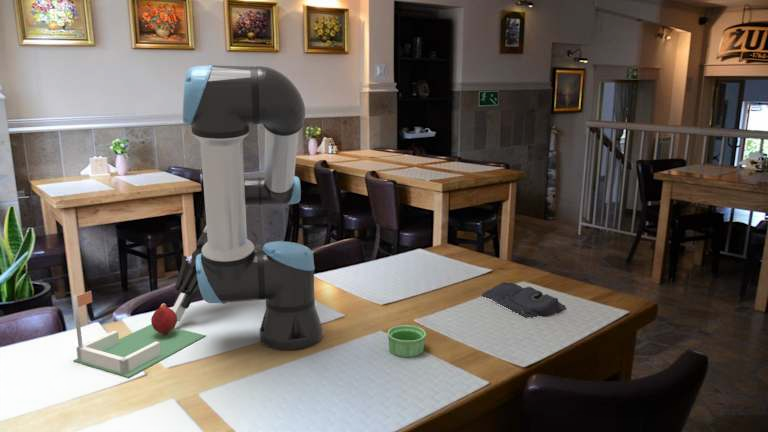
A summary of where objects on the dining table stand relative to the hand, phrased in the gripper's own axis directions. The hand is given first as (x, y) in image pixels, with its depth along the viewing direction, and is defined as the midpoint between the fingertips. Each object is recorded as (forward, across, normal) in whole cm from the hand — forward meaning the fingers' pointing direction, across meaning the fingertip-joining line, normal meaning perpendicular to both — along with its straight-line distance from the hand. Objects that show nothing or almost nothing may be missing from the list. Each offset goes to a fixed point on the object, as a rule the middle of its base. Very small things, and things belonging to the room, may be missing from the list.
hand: (174, 318), depth 145 cm
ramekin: (-8, -57, -14) cm, 59 cm away
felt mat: (+10, -2, +6) cm, 12 cm away
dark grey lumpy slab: (-38, -74, -44) cm, 94 cm away
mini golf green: (+14, -1, +10) cm, 18 cm away
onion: (+5, -1, +1) cm, 5 cm away
